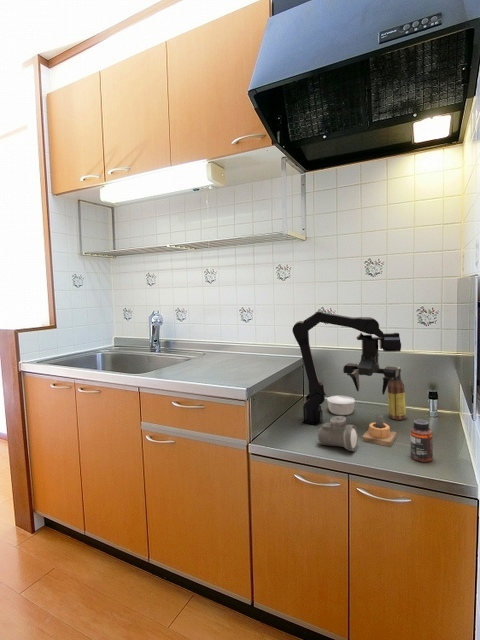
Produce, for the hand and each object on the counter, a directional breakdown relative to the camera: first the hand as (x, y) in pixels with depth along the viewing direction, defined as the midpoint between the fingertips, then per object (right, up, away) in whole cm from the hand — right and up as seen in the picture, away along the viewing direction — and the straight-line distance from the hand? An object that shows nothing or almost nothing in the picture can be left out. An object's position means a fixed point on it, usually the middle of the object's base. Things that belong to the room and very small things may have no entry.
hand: (370, 392), depth 135 cm
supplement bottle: (+6, -15, -26) cm, 31 cm away
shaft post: (-1, -13, -12) cm, 18 cm away
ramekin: (-7, -11, +16) cm, 20 cm away
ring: (-1, -12, -12) cm, 17 cm away
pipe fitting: (-17, -15, -17) cm, 28 cm away
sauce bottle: (+12, -11, +6) cm, 18 cm away
